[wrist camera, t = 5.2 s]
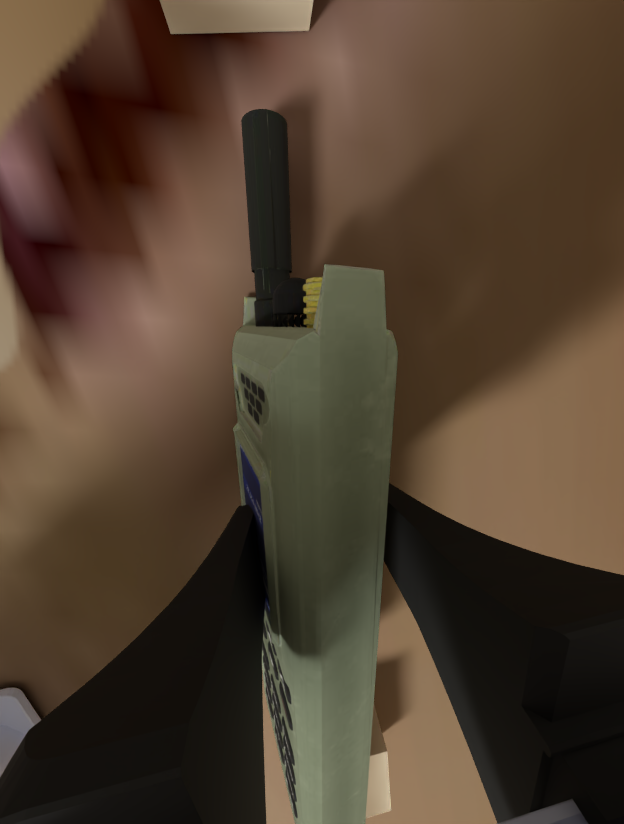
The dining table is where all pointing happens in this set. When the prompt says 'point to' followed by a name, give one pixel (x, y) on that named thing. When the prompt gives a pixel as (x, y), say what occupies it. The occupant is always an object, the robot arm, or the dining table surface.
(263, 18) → the taped cardboard parcel
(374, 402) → the handheld radio
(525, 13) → the dining table surface
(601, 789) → the robot arm
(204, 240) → the dining table surface
